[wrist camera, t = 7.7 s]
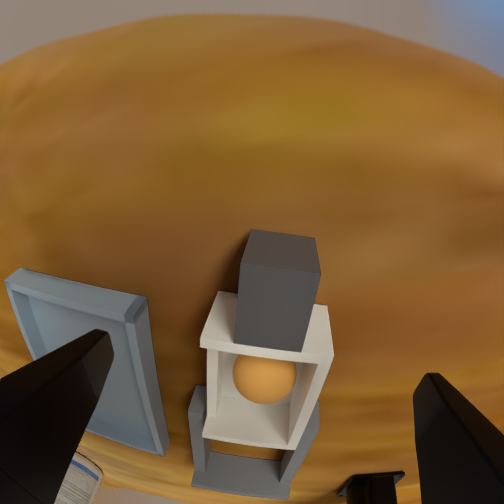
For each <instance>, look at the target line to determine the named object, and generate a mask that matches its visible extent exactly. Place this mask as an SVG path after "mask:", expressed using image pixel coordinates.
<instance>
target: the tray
mask: <svg viewBox="0 0 504 504" xmlns="http://www.w3.org/2000/svg"><path fill="white" fill-rule="evenodd" d="M4 282H5V285H6V289H7V292H8V295H9V298H10V301H11V304H12V307H13V310H14V313H15V316H16V318H17V321H18V324H19V326H20V329H21V332H22V334H23V337H24V339H25V342H26V344H27V346H28V349H29V351H30V353H31V356H32V358H33V360H34V361H35V360H37V359H38V358H40V357H42V356H44V355H46V354H48V353H50V352H52V351H54V350H55V349H57V348H59V347H61V346H63V345H65V344H67V343H69V342H71V341H72V340H74V339H76V338H78V337H80V336H82V335H84V334H86V333H88V332H90V331H91V330H93V329H100V330H104V331H107V332H108V333H109V334H110V337H111V342H112V346H113V350H114V359H113V362H112V365H111V368H110V370H109V373H108V376H107V379H106V382H105V384H104V387H103V390H102V393H101V396H100V399H99V401H98V404H97V406H96V408H95V410H94V412H93V414H92V417H91V419H90V421H89V423H88V425H87V427H86V429H85V430H86V431H89V432H91V433H94V434H96V435H99V436H101V437H104V438H107V439H109V440H112V441H115V442H118V443H121V444H124V445H127V446H130V447H133V448H136V449H139V450H142V451H146V452H149V453H152V454H156V455H160V456H163V457H165V454H166V451H167V448H168V445H169V442H170V439H169V434H168V430H167V425H166V420H165V415H164V410H163V405H162V400H161V395H160V389H159V384H158V378H157V372H156V365H155V359H154V352H153V345H152V338H151V330H150V322H149V313H148V304H147V297H145V296H140V295H135V294H130V293H125V292H120V291H115V290H111V289H106V288H101V287H97V286H92V285H88V284H83V283H79V282H75V281H71V280H66V279H62V278H58V277H54V276H50V275H46V274H42V273H38V272H34V271H31V270H27V269H23V268H19V269H18V270H17V271H16V272H14V273H13V274H12V275H10V276H9V277H8V278H7V279H5V280H4Z"/></svg>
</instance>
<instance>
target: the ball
mask: <svg viewBox="0 0 504 504" xmlns="http://www.w3.org/2000/svg"><path fill="white" fill-rule="evenodd" d="M232 376H233V381H234V384H235V387H236V389H237V390H238V392H239V393H240V394H241V395H242V396H243V397H244V398H246V399H247V400H249V401H251V402H254V403H258V404H271V403H275V402H277V401H279V400H281V399H283V398H284V397H285V396H287V395H288V394H289V392H290V391H291V390H292V388H293V386H294V384H295V381H296V376H297V370H296V364H295V362H294V361H286V360H278V359H270V358H263V357H256V356H249V355H242V354H239V355H238V357H237V358H236V360H235V362H234V365H233V370H232Z"/></svg>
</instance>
